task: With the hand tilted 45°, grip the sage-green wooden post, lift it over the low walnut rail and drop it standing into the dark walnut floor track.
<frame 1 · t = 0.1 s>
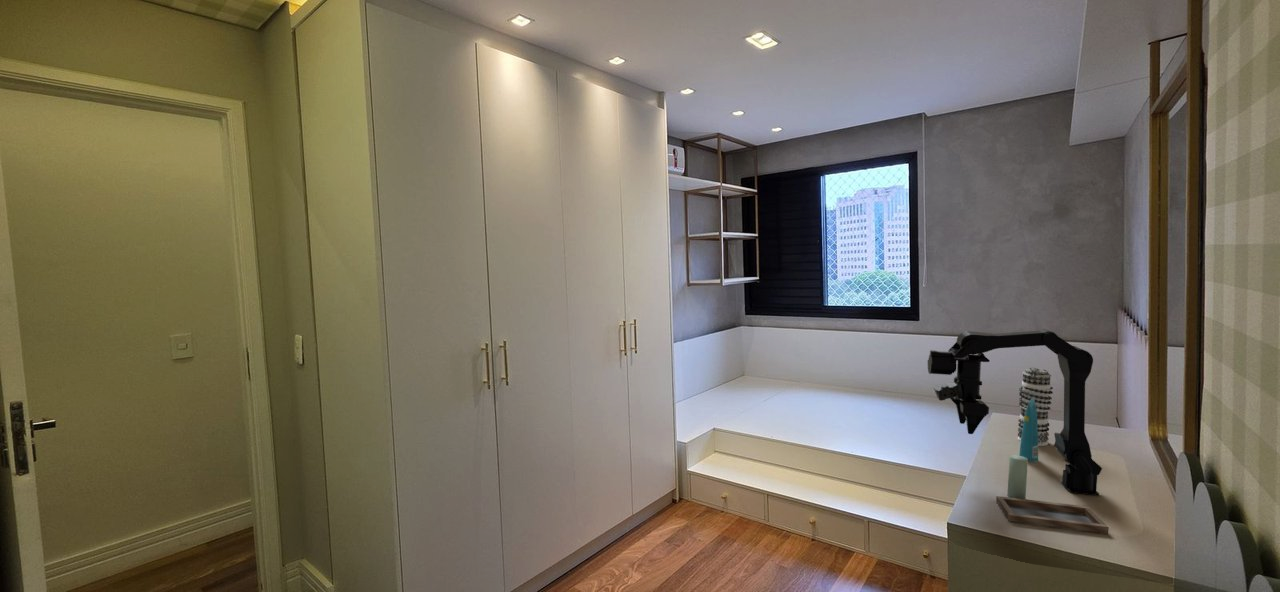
hand: (966, 428, 157), 15 cm above the table, tool pointing down, fingers open, 9 cm apart
track: (1048, 517, 135), on the table
post: (1016, 497, 146), on the table
tube: (1027, 459, 170), on the table
decorative candle: (1032, 441, 185), on the table
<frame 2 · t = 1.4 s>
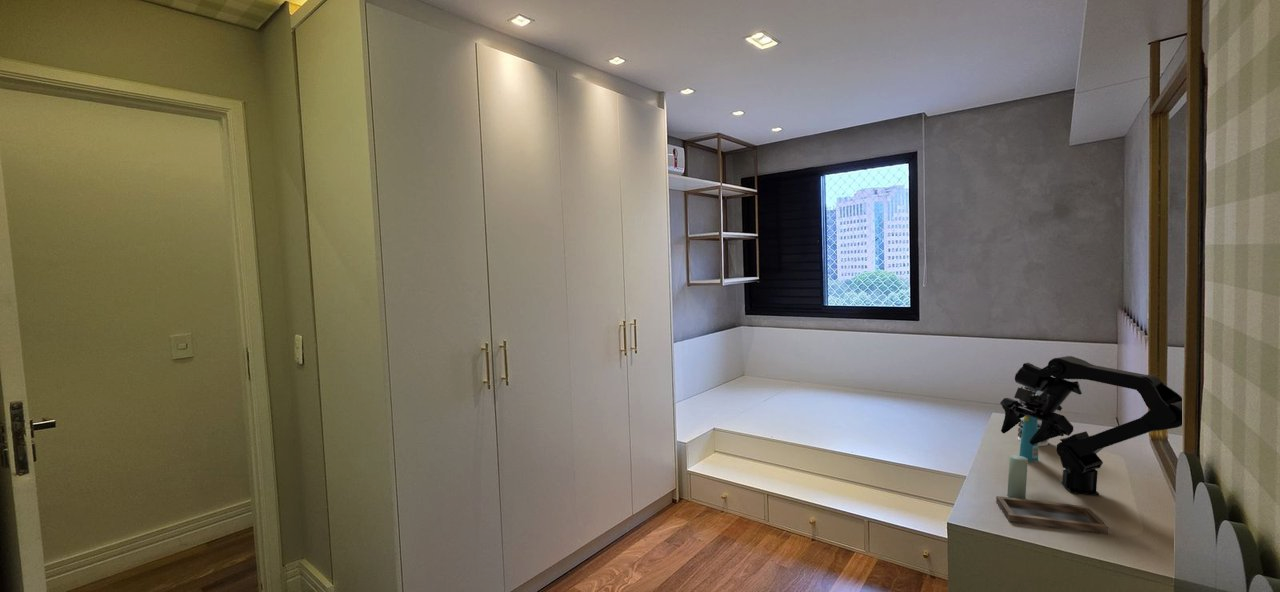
hand: (1016, 437, 152), 14 cm above the table, tool tilted 45°, fingers open, 9 cm apart
nothing on the table moved.
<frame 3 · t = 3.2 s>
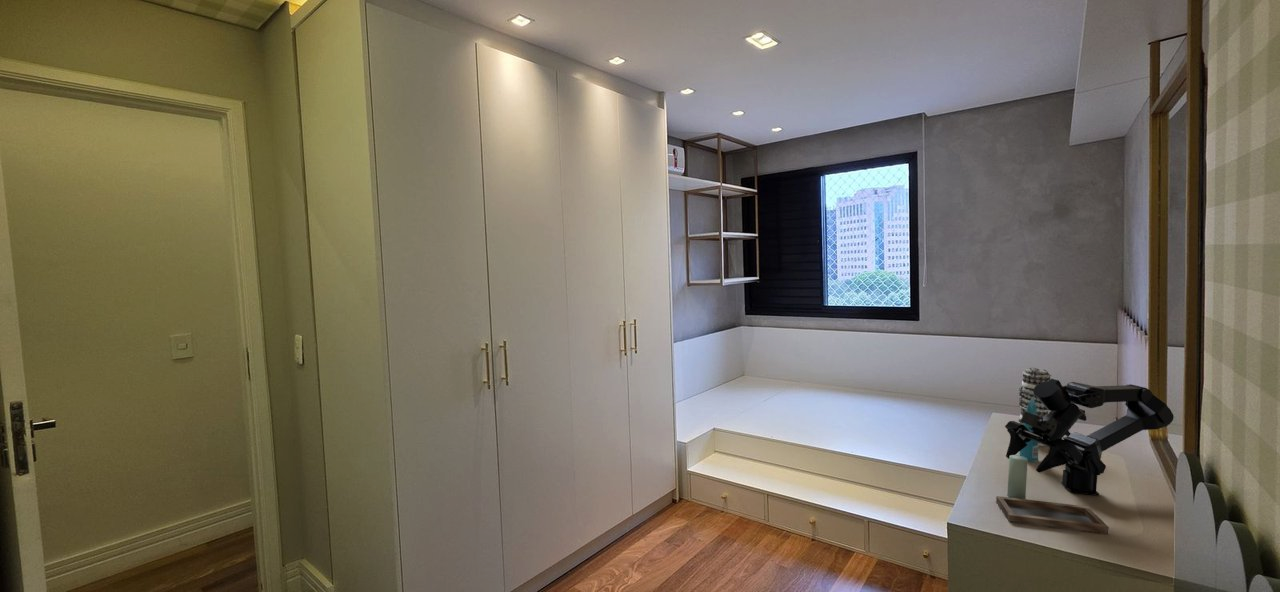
hand: (1021, 464, 145), 9 cm above the table, tool tilted 45°, fingers open, 9 cm apart
nothing on the table moved.
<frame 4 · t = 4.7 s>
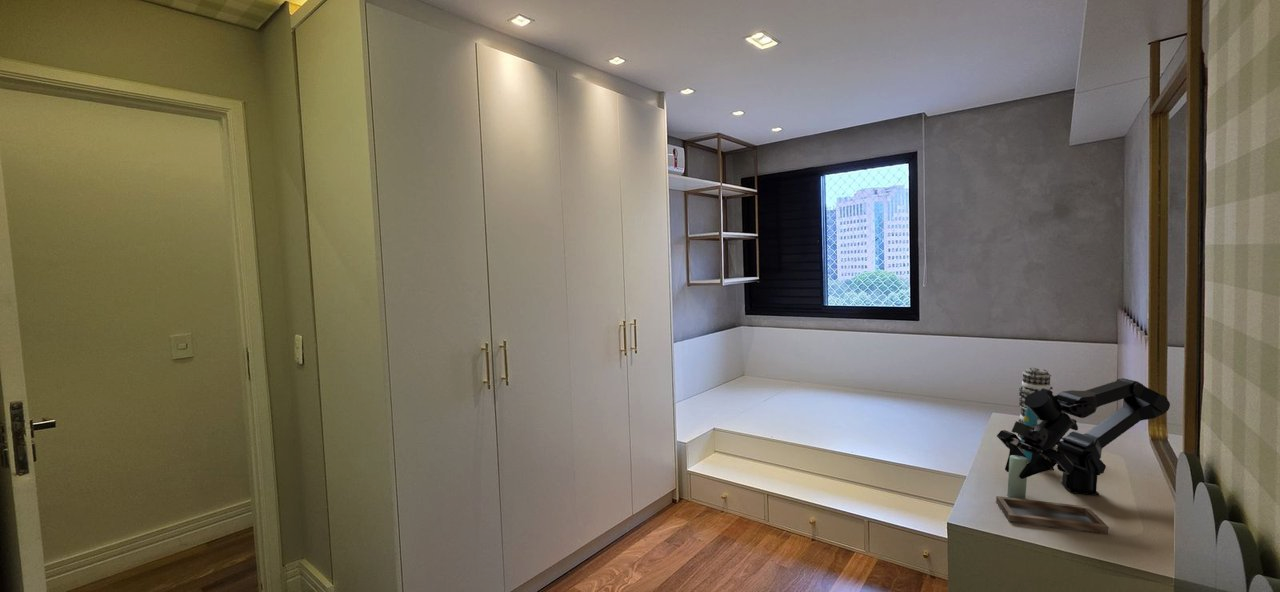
hand: (1013, 474, 145), 7 cm above the table, tool tilted 45°, fingers closed on post, 4 cm apart
post: (1016, 497, 146), on the table, touching gripper
everything else where it was.
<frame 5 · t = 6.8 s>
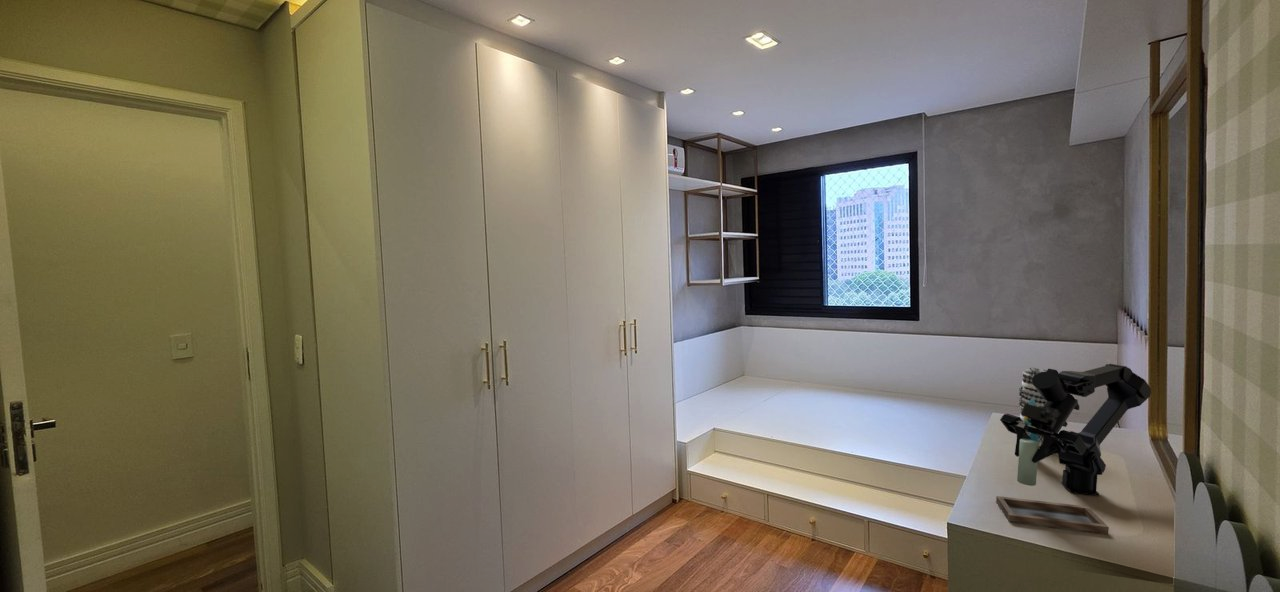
hand: (1024, 458, 140), 13 cm above the table, tool tilted 45°, fingers closed on post, 4 cm apart
post: (1026, 482, 141), point 6 cm above the table, touching gripper
everything else where it was.
when the fingers open (8 cm above the table, at t = 8.9 s): post drops 1 cm, resting on track.
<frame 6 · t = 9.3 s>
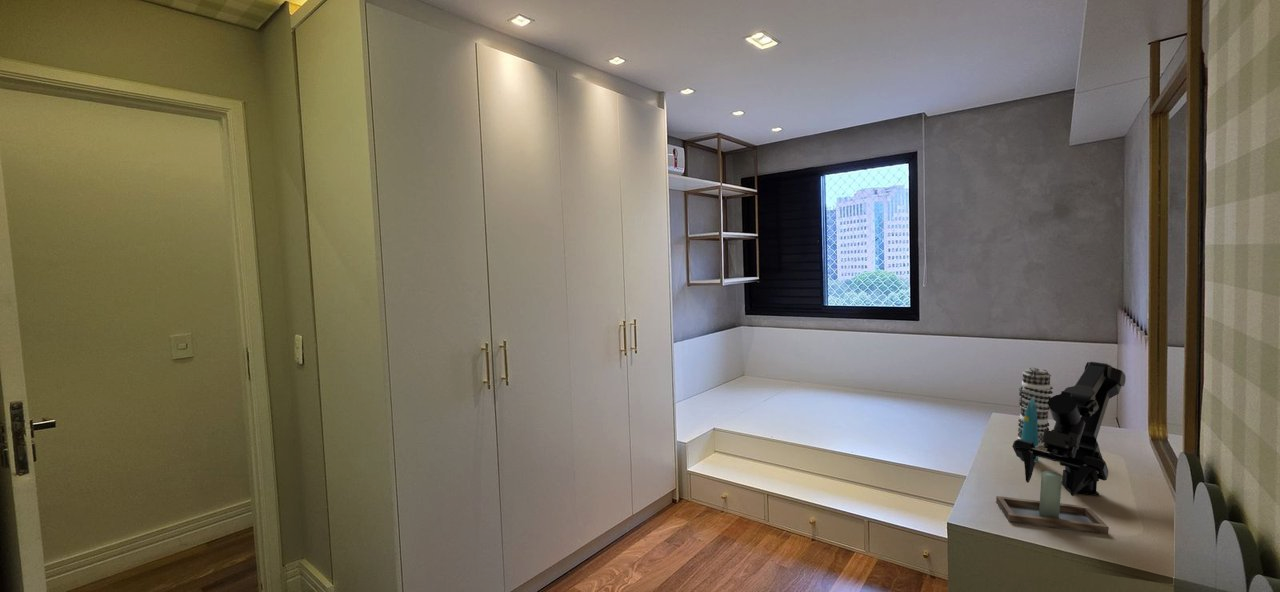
hand: (1048, 488, 133), 8 cm above the table, tool tilted 45°, fingers open, 9 cm apart
post: (1048, 516, 135), resting on track
everything else where it was.
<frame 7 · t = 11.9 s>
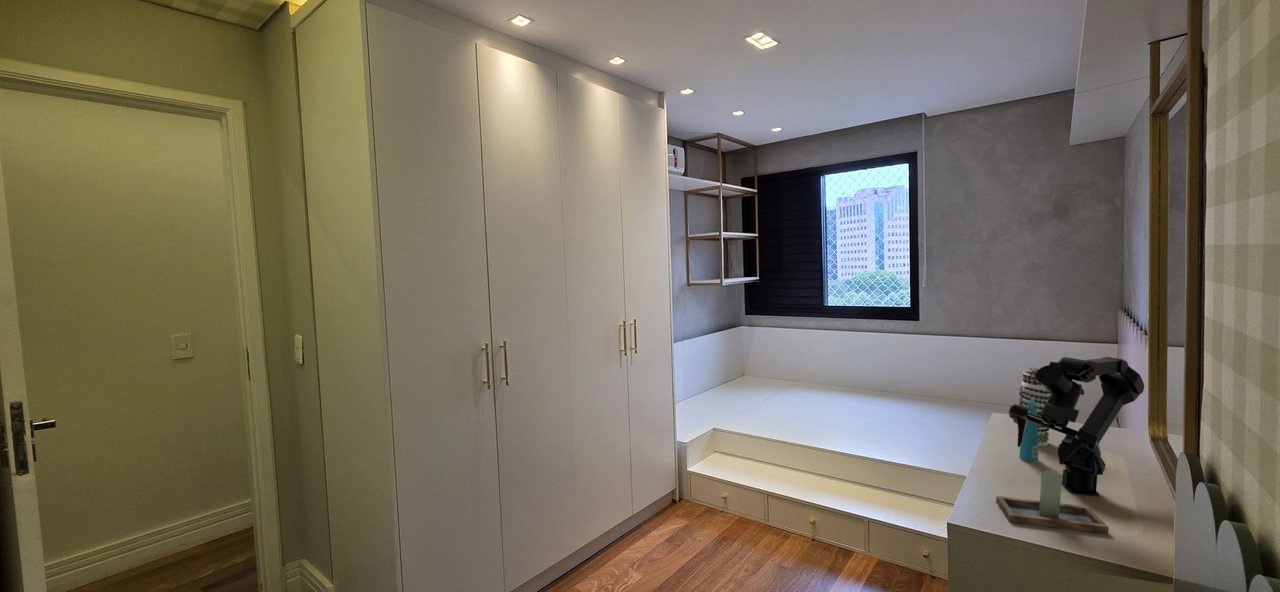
hand: (1038, 455, 140), 14 cm above the table, tool tilted 35°, fingers open, 9 cm apart
nothing on the table moved.
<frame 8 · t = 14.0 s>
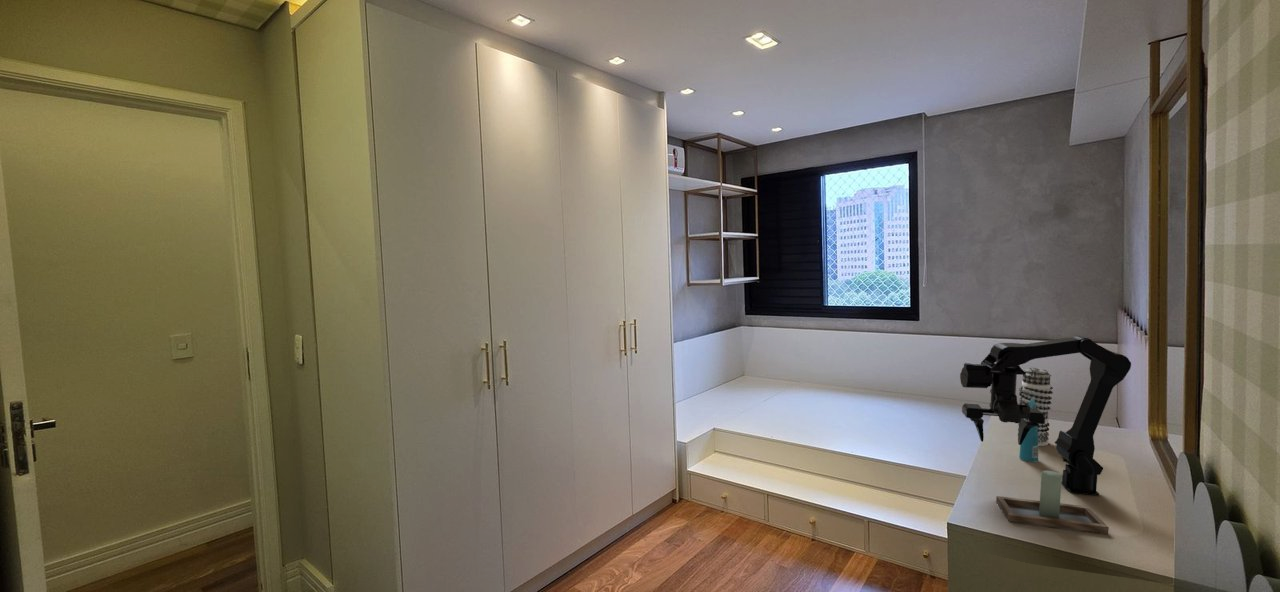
hand: (1000, 442, 153), 12 cm above the table, tool pointing down, fingers open, 9 cm apart
nothing on the table moved.
at the end: post inside the target area on the track (0.0 cm from its centre), point 0.3 cm above the track's base; post tilted 0°; the gripper is holding nothing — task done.
